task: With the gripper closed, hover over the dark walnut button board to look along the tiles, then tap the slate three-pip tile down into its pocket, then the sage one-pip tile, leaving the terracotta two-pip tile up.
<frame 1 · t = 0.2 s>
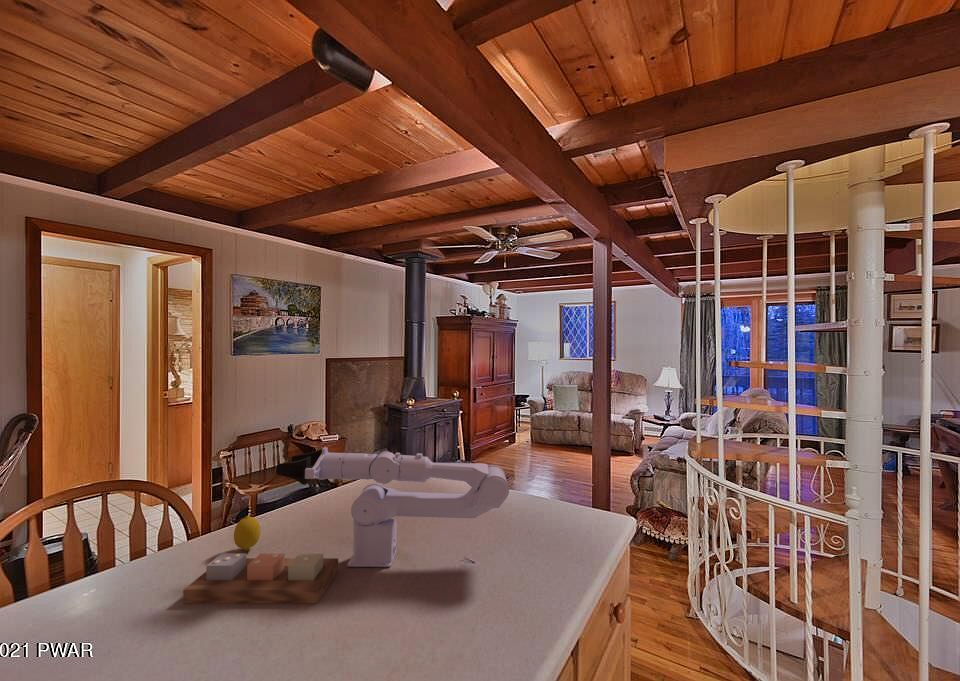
hand: (284, 464, 97), 21 cm above the kitchen counter, tool horizontal, fingers open, 7 cm apart
lemon: (247, 551, 100), on the kitchen counter
tile three: (226, 567, 86), point 4 cm above the kitchen counter, slide at 0.0 cm
tile two: (266, 567, 86), point 4 cm above the kitchen counter, slide at 0.0 cm
button board: (266, 585, 85), on the kitchen counter
tile one: (306, 567, 86), point 4 cm above the kitchen counter, slide at 0.0 cm
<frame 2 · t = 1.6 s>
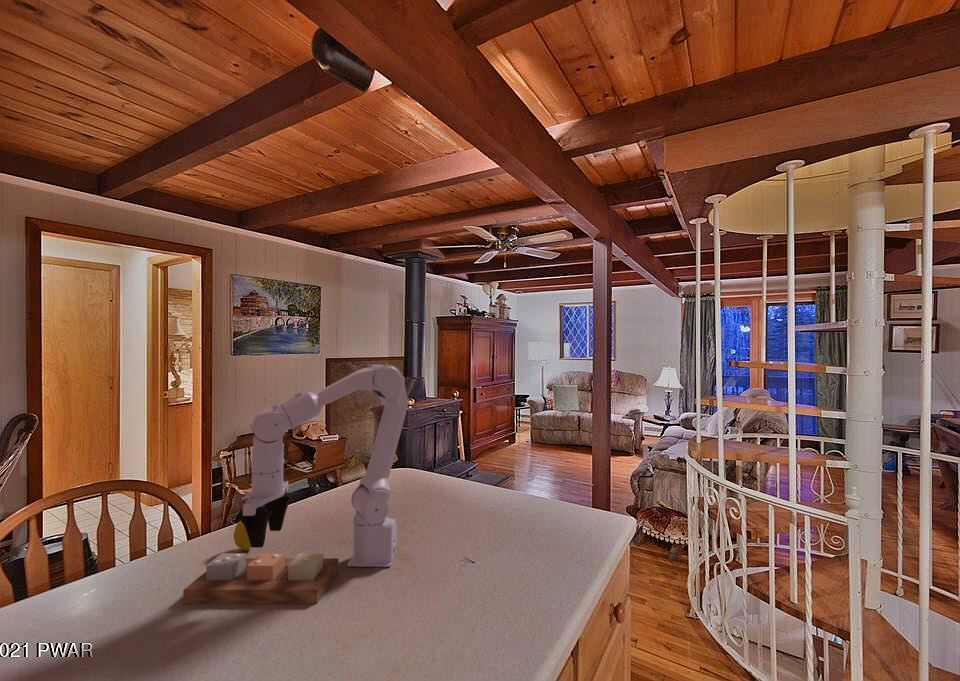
hand: (266, 538, 86), 9 cm above the kitchen counter, tool pointing down, fingers open, 7 cm apart
nothing on the kitchen counter moved.
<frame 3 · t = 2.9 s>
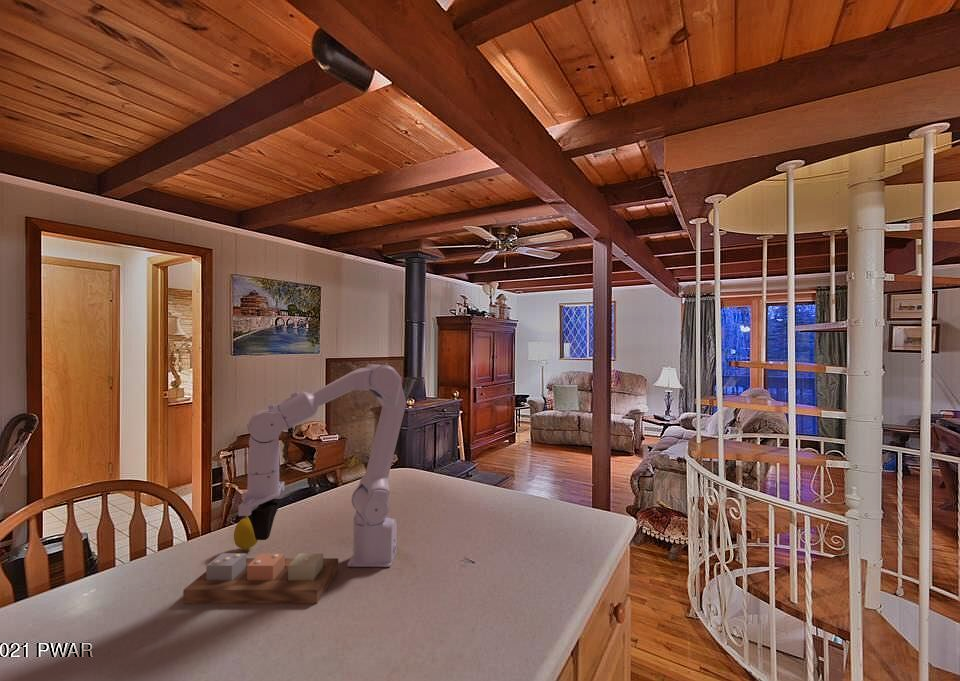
hand: (262, 538, 86), 9 cm above the kitchen counter, tool pointing down, fingers closed
nothing on the kitchen counter moved.
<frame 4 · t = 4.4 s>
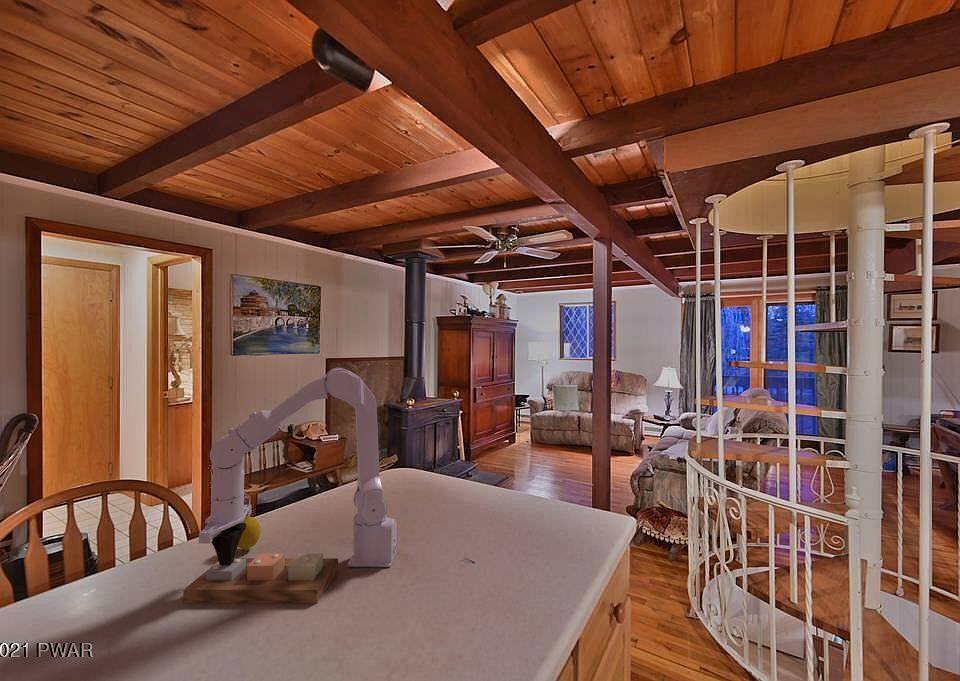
hand: (226, 563, 86), 4 cm above the kitchen counter, tool pointing down, fingers closed, pressing on tile three
tile three: (226, 572, 85), point 3 cm above the kitchen counter, slide at 1.1 cm, touching gripper
everything else where it was.
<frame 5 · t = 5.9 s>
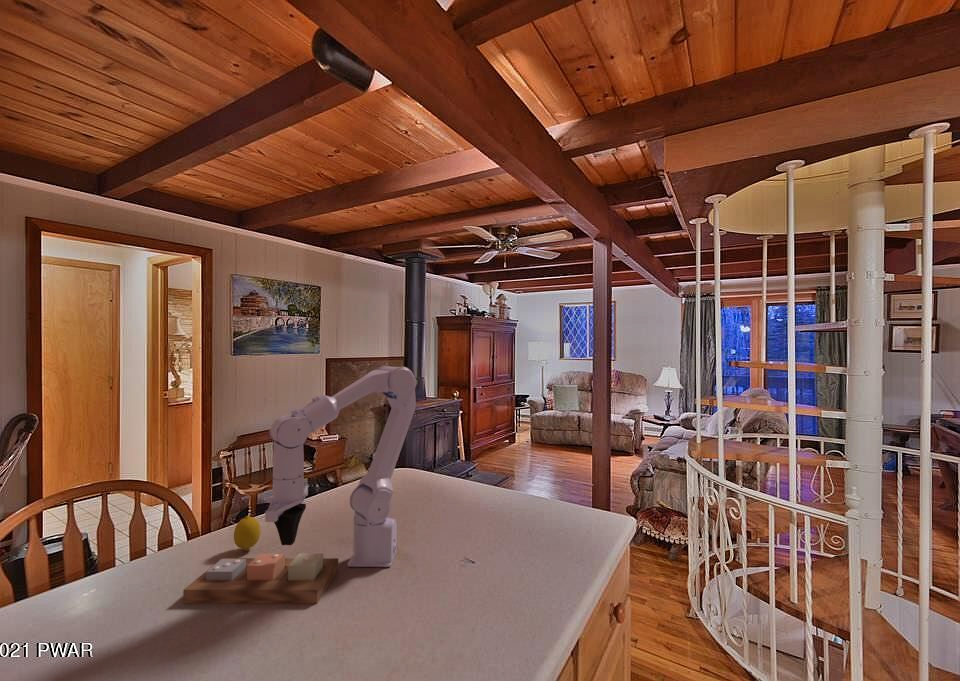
hand: (288, 543, 86), 8 cm above the kitchen counter, tool pointing down, fingers closed
tile three: (226, 573, 85), point 2 cm above the kitchen counter, slide at 1.2 cm
everything else where it was.
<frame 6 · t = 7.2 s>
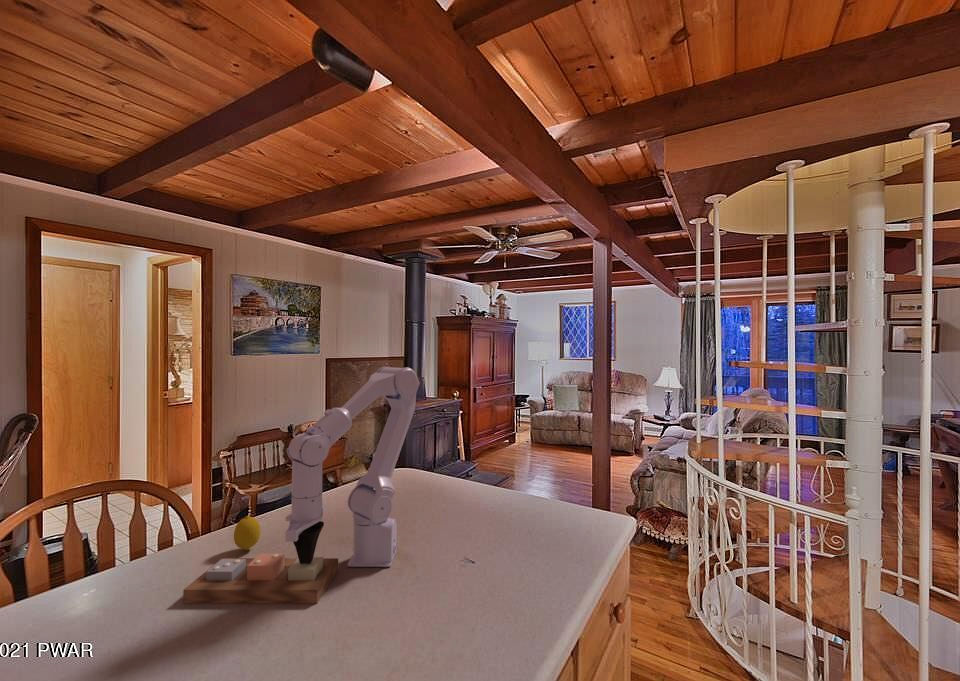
hand: (306, 562, 86), 5 cm above the kitchen counter, tool pointing down, fingers closed, pressing on tile one
tile one: (306, 570, 86), point 3 cm above the kitchen counter, slide at 0.7 cm, touching gripper
everything else where it was.
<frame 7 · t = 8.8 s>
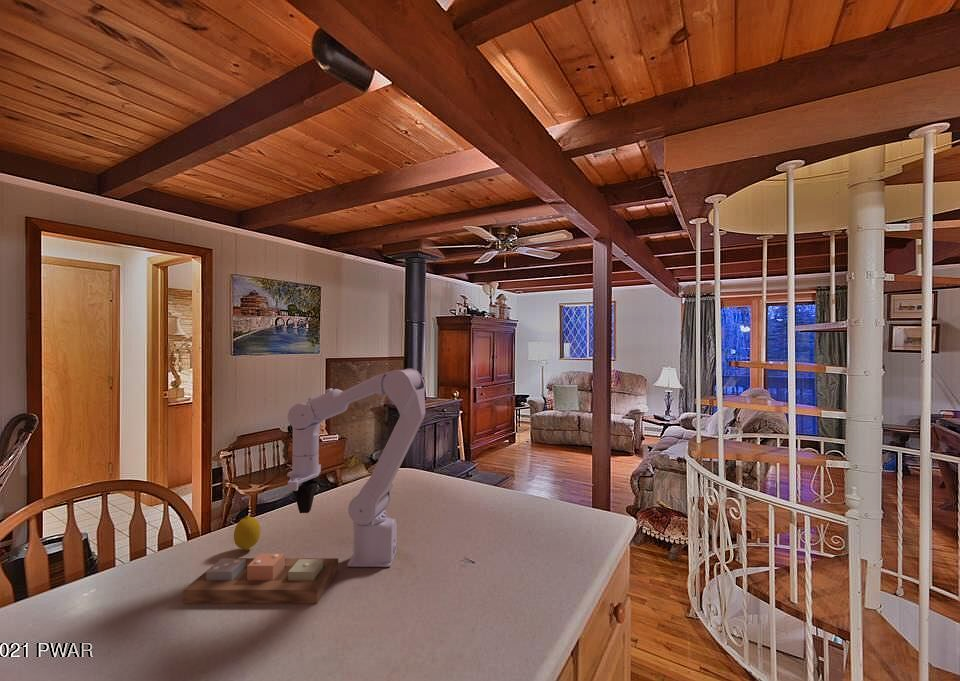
hand: (304, 512, 99), 9 cm above the kitchen counter, tool pointing down, fingers closed
tile one: (306, 573, 86), point 2 cm above the kitchen counter, slide at 1.2 cm
everything else where it was.
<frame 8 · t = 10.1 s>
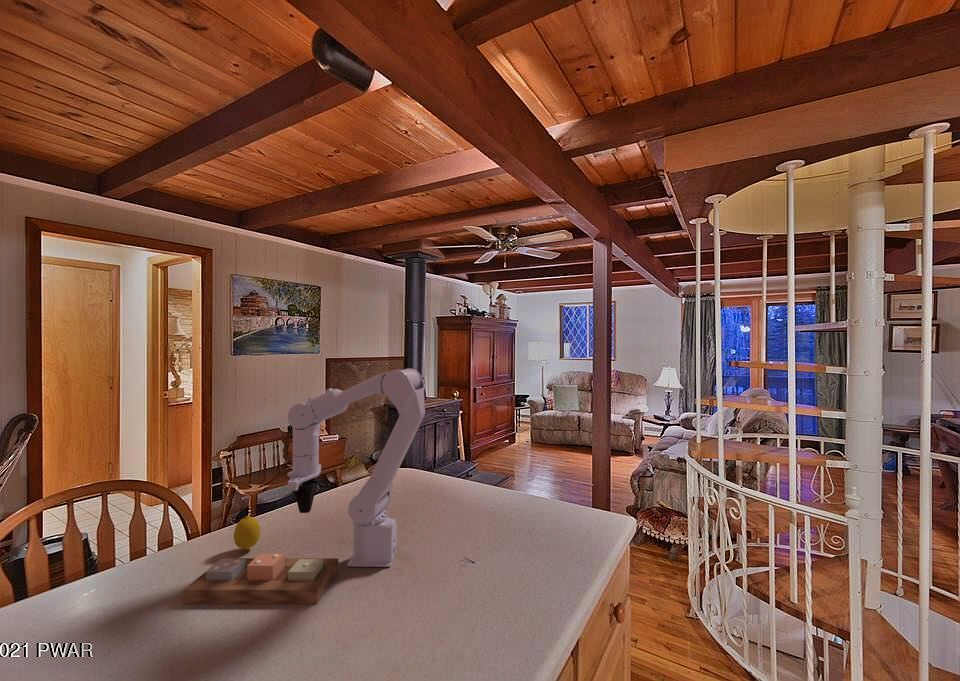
hand: (305, 511, 100), 9 cm above the kitchen counter, tool pointing down, fingers closed
nothing on the kitchen counter moved.
at the end: tile three slide at 1.2 cm; tile one slide at 1.2 cm; tile two slide at 0.0 cm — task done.
